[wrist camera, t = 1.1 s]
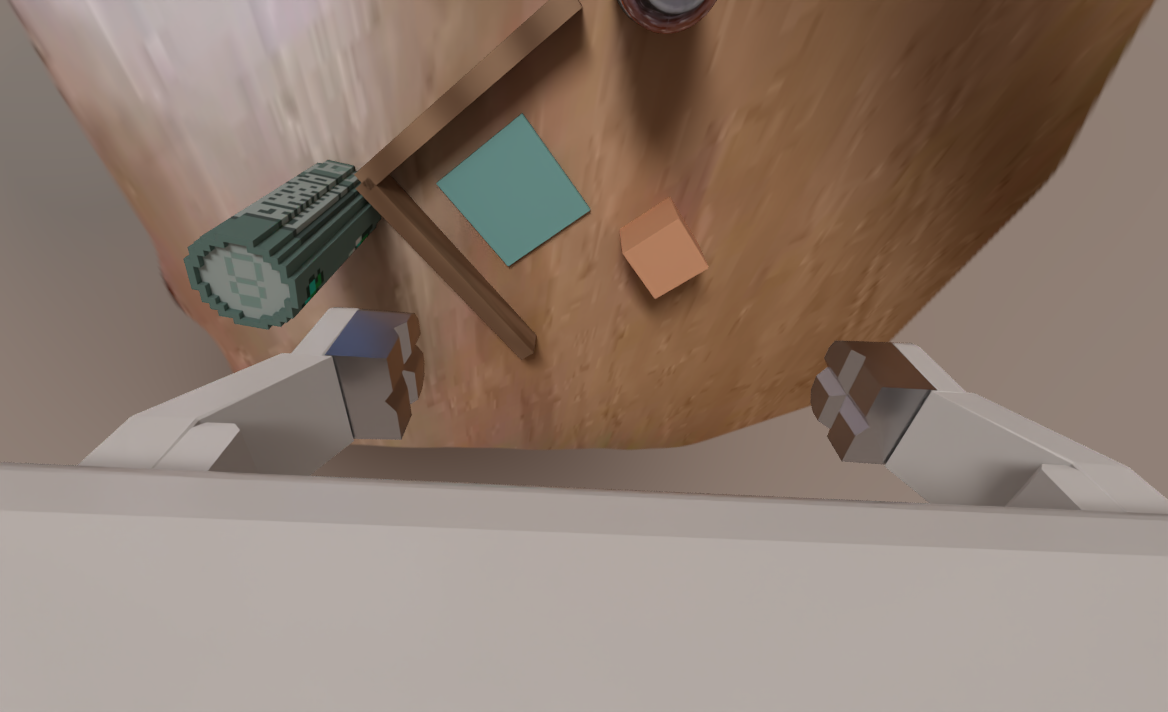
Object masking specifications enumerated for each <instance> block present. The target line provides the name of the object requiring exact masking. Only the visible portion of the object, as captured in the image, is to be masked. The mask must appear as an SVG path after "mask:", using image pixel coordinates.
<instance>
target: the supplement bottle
mask: <svg viewBox="0 0 1168 712" xmlns="http://www.w3.org/2000/svg"><path fill="white" fill-rule="evenodd" d="M617 1H618V3H619V5H620V7H621V8H622V10H623V11H624V12H625V14H626V15H627V16H628V17H629V18H630V19H632V20H633V21H635V22H636V23H638V24H639V25H641V26H642V27H644V28H646V29H648V30H650V31H653V32H656V33H665V34H668V33H676V32H679V31H683V30H685V29H687V28H689V27H691V26H693V25H694V24H696V23H697V22H698V21H700V20H701V19H702V18H703V17H704V16H705V15H706V14H707V13H708V12H709V11H710V9H711V8H712V7H713V5H714V4H715V2H716V1H717V0H617Z"/></svg>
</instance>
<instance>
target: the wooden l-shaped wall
mask: <svg viewBox="0 0 1168 712" xmlns="http://www.w3.org/2000/svg"><path fill="white" fill-rule="evenodd" d="M581 8H582V5H581V3H580V2H579V0H548V1H547V2H546V3H545V4H544V5H543V6H542V7H541V8H540V9H538V10H537V11H536V12H535V13H534V14H533V15H532V16H531V17H529V18H528V19H527V20H526V21H525V22H524V23H523V24H522V25H521V26H519V27H518V28H517V29H516V30H515V31H514V32H513V33H512V34H510V35H509V36H508V37H507V38H506V39H505V40H504V41H503V42H502V43H500V44H499V45H498V46H497V47H496V48H495V49H494V50H493V51H491V52H490V53H489V54H488V55H487V56H486V57H485V58H484V59H483V60H481V61H480V62H479V63H478V64H477V65H476V66H475V67H474V68H472V69H471V70H470V71H469V72H468V73H467V74H466V75H465V76H464V77H462V78H461V79H460V80H459V81H458V82H457V83H456V84H455V85H454V86H452V87H451V88H450V89H449V90H448V91H447V92H446V93H445V94H443V95H442V96H441V97H440V98H439V99H438V100H437V101H436V102H435V103H433V104H432V105H431V106H430V107H429V108H428V109H427V110H426V111H424V112H423V113H422V114H421V115H420V116H419V117H418V118H417V119H416V120H414V121H413V122H412V123H411V124H410V125H409V126H408V127H407V128H405V129H404V130H403V131H402V132H401V133H400V134H399V135H398V136H397V137H395V138H394V139H393V140H392V141H391V142H390V143H389V144H388V145H386V146H385V147H384V148H383V149H382V150H381V151H380V152H379V153H378V154H376V155H375V156H374V157H373V158H372V159H371V160H370V161H369V162H367V163H366V164H365V165H364V166H363V167H362V168H361V169H360V170H359V171H357V172H356V173H355V174H354V175H355V176H356V177H357V178H358V179H359V180H360V182H361V184H360V185H359V186H358V187H357V188H355V189H356V190H357V191H358V192H359V193H360V194H361V195H362V196H363V197H364V198H365V199H366V200H367V201H368V202H369V203H370V204H371V205H372V206H373V207H374V208H375V209H376V210H377V211H378V213H379V214H380V215H381V216H382V217H383V218H384V219H385V220H386V221H387V222H388V223H389V224H390V225H391V226H392V227H393V228H394V229H395V230H396V231H397V232H398V233H399V234H400V235H401V236H402V237H403V238H404V239H405V240H406V241H407V242H408V243H409V245H410V246H411V247H412V248H413V249H414V250H415V251H416V252H417V253H418V254H419V255H420V256H421V257H422V258H423V259H424V260H425V261H426V262H427V263H428V264H429V265H430V266H431V267H432V268H433V269H434V270H435V271H436V272H437V273H438V274H439V275H440V276H441V278H442V279H443V280H444V281H445V282H446V283H447V284H448V285H449V286H450V287H451V288H452V289H453V290H454V291H455V292H456V293H457V294H458V295H459V296H460V297H461V298H462V299H463V300H464V301H465V302H466V303H467V304H468V305H469V306H470V307H471V308H472V310H473V311H474V312H475V313H476V314H477V315H478V316H479V317H480V318H481V319H482V320H483V321H484V322H485V323H486V324H487V325H488V326H489V327H490V328H491V329H492V330H493V331H494V332H495V333H496V334H497V335H498V336H499V337H500V338H501V339H502V340H503V341H504V343H505V344H506V345H507V346H508V347H509V348H510V349H511V350H512V351H513V352H514V353H515V354H516V355H517V356H518V357H519V358H520V359H521V360H522V359H524V358H526V357H528V356H529V355H531V354H533V353H534V348H535V341H536V334H535V333H534V332H533V331H532V330H531V329H530V328H529V327H528V326H527V324H526V323H525V322H524V321H523V320H522V319H521V318H520V317H519V316H518V315H517V314H516V312H515V311H514V310H513V309H512V308H511V307H510V306H509V305H508V304H507V303H506V301H505V300H504V299H503V298H502V297H501V296H500V295H499V294H498V293H497V292H496V291H495V289H494V288H493V287H492V286H491V285H490V284H489V283H488V282H487V281H486V280H485V278H484V277H483V276H482V275H481V274H480V273H479V272H478V271H477V270H476V269H475V268H474V266H473V265H472V264H471V263H470V262H469V261H468V260H467V259H466V258H465V257H464V255H463V254H462V253H461V252H460V251H459V250H458V249H457V248H456V247H455V246H454V245H453V243H452V242H451V241H450V240H449V239H448V238H447V237H446V236H445V235H444V234H443V233H442V231H441V230H440V229H439V228H438V227H437V226H436V225H435V224H434V223H433V222H432V220H431V219H430V218H429V217H428V216H427V215H426V214H425V213H424V212H423V211H422V210H421V208H420V207H419V206H418V205H417V204H416V203H415V202H414V201H413V200H412V199H411V197H410V196H409V195H408V194H407V193H406V192H405V191H404V190H403V189H402V188H401V187H400V185H399V184H398V183H397V182H396V181H395V180H394V179H393V178H392V177H391V176H390V175H389V174H390V173H391V172H392V171H393V170H394V169H396V168H397V167H398V166H399V165H400V164H401V163H403V162H404V161H405V160H406V159H407V158H408V157H409V156H411V155H412V154H413V153H414V152H415V151H416V150H418V149H419V148H420V147H421V146H422V145H423V144H425V143H426V142H427V141H428V140H429V139H430V138H431V137H433V136H434V135H435V134H436V133H437V132H438V131H440V130H441V129H442V128H443V127H444V126H445V125H447V124H448V123H449V122H450V121H451V120H452V119H453V118H455V117H456V116H457V115H458V114H459V113H460V112H462V111H463V110H464V109H465V108H466V107H467V106H469V105H470V104H471V103H472V102H473V101H474V100H475V99H477V98H478V97H479V96H480V95H481V94H482V93H484V92H485V91H486V90H487V89H488V88H489V87H491V86H492V85H493V84H494V83H495V82H496V81H497V80H499V79H500V78H501V77H502V76H503V75H504V74H506V73H507V72H508V71H509V70H510V69H511V68H513V67H514V66H515V65H516V64H517V63H518V62H519V61H521V60H522V59H523V58H524V57H525V56H526V55H528V54H529V53H530V52H531V51H532V50H533V49H535V48H536V47H537V46H538V45H539V44H540V43H541V42H543V41H544V40H545V39H546V38H547V37H548V36H550V35H551V34H552V33H553V32H554V31H555V30H557V29H558V28H559V27H560V26H561V25H562V24H564V23H565V22H566V21H567V20H568V19H569V18H570V17H572V16H573V15H574V14H575V13H576V12H577V11H579V10H580V9H581Z"/></svg>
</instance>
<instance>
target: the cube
mask: <svg viewBox="0 0 1168 712" xmlns="http://www.w3.org/2000/svg"><path fill="white" fill-rule="evenodd" d="M619 231H620V238H621V245H622V252H623V255H624V256H625V258H626V259H627V260H628V262H629V263H630V265H631V266H632V267H633V269H634V270H635V272H636V273H637V275H638V276H639V277H640V279H641V280H642V282H643V283H644V284H645V286H646V287H647V289H648V290H649V291H650V293H651V294H652V296H653V297H654V298H655V299H656V298H658V297H660V296H661V295H663V294H665V293H667V292H668V291H670V290H672V289H673V288H675V287H677V286H679V285H680V284H682V283H684V282H685V281H687V280H689V279H691V278H692V277H694V276H696V275H698V274H699V273H701V272H703V271H704V270H706V269H708V268H709V267H708V264H707V262H706V260H705V258H704V255H703V253H702V251H701V249H700V246H699V244H698V242H697V241H696V239H695V237H694V236H693V234H692V232H691V231H690V229H689V227H688V226H687V224H686V222H685V221H684V219H683V217H682V216H681V214H680V212H679V211H678V209H677V208H676V206H675V204H674V203H673V201H672V199H671V198H670V197H668V198H667V199H665V200H664V201H662V202H661V203H659V204H658V205H656V206H655V207H653V208H652V209H650V210H649V211H647V212H646V213H644V214H643V215H641V216H639V217H638V218H636V219H635V220H633V221H632V222H630V223H629V224H627V225H626V226H624V227H623V228H621V229H620V230H619Z"/></svg>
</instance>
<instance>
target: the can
mask: <svg viewBox="0 0 1168 712" xmlns="http://www.w3.org/2000/svg"><path fill="white" fill-rule="evenodd" d="M356 172H357V171H354V166H353V165H348V164H344V163H339V162H335V161H330V160H327V161H326V162H324V163H323V164H321V163H317V164H315V165H314V166H312V167H310V168H309V169H307V170H306V171H304V172H302V173H301V174H299V175H298V176H296V177H294V178H293V179H291V180H290V181H288V182H286V183H285V184H283V185H282V186H280V187H279V188H277V189H275V190H274V191H272V192H271V193H269V194H267V195H266V196H264V197H263V198H261V199H259V200H258V201H256V202H255V203H253V204H251V205H250V206H248V207H247V208H245V209H244V210H242V211H240V212H239V213H237V214H236V215H234V216H232V217H231V218H229V219H228V220H226V221H224V222H223V223H221V224H220V225H218V226H217V227H215V228H213V229H212V230H210V231H209V232H207V233H205V234H204V235H202V236H201V237H200V238H199V239H198V240H196V241H195V242H194V244H192V245H190V246H189V247H188V251H189V254H190V255H188V256H187V257H185V258H184V263H185V266H186V270H187V274H188V277H189V281H190V284H191V288H192V289H194V290H199V292H200V296H201V300H202V302H205V303H209V304H210V308H211V309H214V310H218V313H219V316H224V317H229V318H233V320H234V324H240V325H245V326H251V327H256V328H262V329H268V330H269V329H270V328H271V326H272V325H274V326H279V327H281V326H282V325H283V324H284V323H285V322H286V323H287V322H288V321H289V320H290V319H291V318H292V319H293V318H294V317H295V316H296V315H297V314H298V313H299V312H300V310H301V309H302V308H303V307H304V306H305V305H306V304H307V303H308V302H309V301H310V299H311V298H312V297H313V296H314V295H315V294H316V293H317V292H318V291H319V289H320V288H321V287H322V286H323V285H324V284H325V283H326V282H327V281H328V280H329V278H330V277H331V276H332V275H333V274H334V273H335V272H336V271H337V270H338V268H339V267H340V266H341V265H342V264H343V263H344V262H345V261H346V260H347V259H348V257H349V256H350V255H351V254H352V253H353V252H354V251H355V250H356V249H357V247H358V246H359V245H360V244H361V243H362V242H363V241H364V240H365V239H366V237H367V236H368V235H369V234H370V233H371V232H372V231H373V230H374V229H375V228H376V224H377V223H378V222H379V220H380V219H381V215H380V214H379V213H378V211H377V210H376V209H375V208H374V207H373V206H372V205H371V204H370V203H369V202H368V201H367V200H366V199H365V198H364V197H363V196H362V195H361V194H360V193H359V192H358V191H357V190H356V189H355V188H357V187H358V186H359V185H360V184H361V182H360V180H359V179H358V178H357V177H356V176H355V175H354V174H355V173H356Z"/></svg>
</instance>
